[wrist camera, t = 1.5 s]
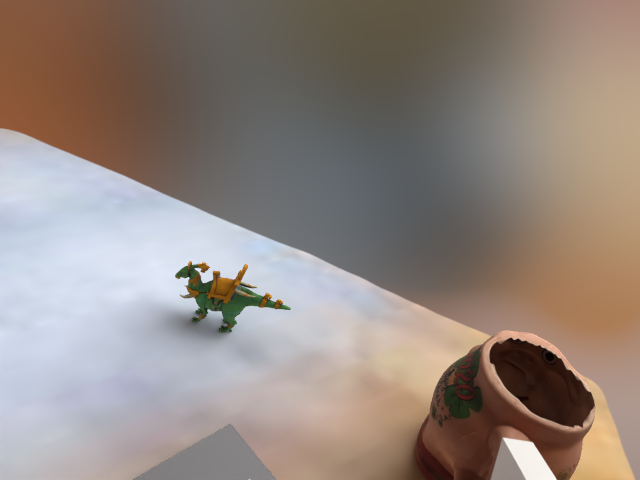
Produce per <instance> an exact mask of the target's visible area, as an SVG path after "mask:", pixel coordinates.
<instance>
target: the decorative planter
mask: <svg viewBox="0 0 640 480" xmlns="http://www.w3.org/2000/svg"><path fill="white" fill-rule="evenodd" d="M594 416H595V404H594V399H593V396H592V394H591V392H590V390H589V387H588V384H587V382H586V380H585V379H584V378H583V377H582V376H581V375H580V374H579V373H578V372H577V371H576V370H575V369H574V368H573V367H572V366H571V365H570V363H569V362H568V361H567V359H566V358H565V357H564V356H563V354H562V353H561V352H560V350H558V349H557V348H556V347H555V346H553V345H552V344H551V343H549V342H547V341H545V340H543V339H542V338H540V337H538V336H536V335H535V334H532V333H528V332H513V331H508V330H505V331H501V332H499V333H497V334H495V335H494V336H492V337H491V338H489V339H488V340H487V341H486V342H484V343H483V344H481V345H478V346H475V347H473V348H472V349H471V350H470V351H469V353H468V354H467V355H466V356H464V357H462V358H461V359H459V360H457V361H456V362H454V363H453V364H452V365H451V366H450V367H449V368H448V369H447V370H446V371H445V372H444V373H443V375H442V376H441V378H440V380H439V382H438V383H437V386H436V388H435V391H434V394H433V398H432V402H431V406H430V413H429V415H428V416H427V418H426V419H425V421H424V423H423V424H422V427H421V429H420V431H419V434H418V437H417V441H416V450H415V452H416V460H417V463H418V465H419V467H420V469H421V471H422V472H423V474H424V475H425V476H426V478H427V479H428V480H491V477H492V473H493V470H494V466H495V463H496V459H497V455H498V452H499V448H500V445H501V441H502V438H509V439H516V440H522V441H528V442H533V444H534V445H535V447H536V448H537V450H538V451H539V453H540V454H541V456H542V458H543V459H544V461H545V462H546V464H547V465H548V467H549V468H550V470H551V471H552V473H553V475H554V476H555V478H556V479H557V480H569V479H570V478H571V476H572V474H573V473H574V471H575V469H576V467H577V465H578V462H579V459H580V455H581V450H582V441H583V438H584V436H585V435H586V434H587V432H588V431H589V430H590V428H591V426H592V424H593V421H594Z"/></svg>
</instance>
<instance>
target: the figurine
mask: <svg viewBox="0 0 640 480" xmlns="http://www.w3.org/2000/svg"><path fill="white" fill-rule="evenodd" d="M194 268H201V272H203V273H205V271H207V270H208V268H210V267H209V266H207V265H206V263H203V262H202V264H197V265H192V262H191V261H190V262H189V263H188V266H185V267H184V268H182V269H181V270H180V271H179V272H178V273H177V274H176V275H175V277H176V278H178V279H180V277H183V278H187V277H189V278H190V279H189V281H188V282H189V283H188V286H186V287H187V290H188V292H189V293H190V294H188V295H185V296H182V295H180V296H181V297H183V298H192V297H194V298H195V299H196V302H197V304H198V306H199V307H200V308H199V309H198V310H196V311H195V312H196V313H201V315H200V316H199V318H194V317H193V318H192V319H193V320H194V321H192V322H198V321H200V320H201V319H204V317H206V314H208V312H207V309H210V310H211V311H222V314H223V317H224V320H223V321H224V322H227V321H228V322H229V323H228V326H226V327H224V326H223V325H222V326H221V328H219V329H220V330H219V332H226V331H228V330H229V331H230V332H232V330H231V328H232V327H234V325H235V324H237V322H236V321H235V319H234V318H235V317H236V316H237V315H239V314H240V312H241V311H242V310H243V309H244V308H245V306H259V307H262V308H263V307H270V308H275V309H285V310H290V309H291V308H289V307H288V306H286V305H282V304H283V301H281V300H279V299H278V300H277V301H276V302H273V301H271V300H269V299H271V298H272V296H271V295H269V293H266V295H265V296H264V297H263V296H260V295H257V294H256V293H254V292H252V291H250V290H248V289H247V288H244V287H248V288H257V287H258V286H251V285H249V284H247V283H244V282H241V280H242V278H243V275H244V274H245V272H246V270H247V268H248V265H247V264H245V265H244V267H243V270H242V271H241V270H240V271H239V273H238V276H237V277H236V279H234V280H232V279H228V278H220V271H213V280H212V281H209V282H207V283H202V281H201V276H200V273H199V272H198V271H196V270H195V269H194ZM240 285H241V286H240ZM242 286H244V287H242ZM268 297H269V299H268ZM280 303H281V304H280ZM199 310H200V311H199Z"/></svg>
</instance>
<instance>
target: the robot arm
mask: <svg viewBox="0 0 640 480" xmlns="http://www.w3.org/2000/svg"><path fill="white" fill-rule="evenodd" d="M491 480H557V479H556V478H555V476H554V475H553V473H552V471H551V470H550V468H549V467H548V465H547V464H546V462H545V461H544V459H543V458H542V456H541V454H540V453H539V451H538V450H537V448H536V447H535V445H534V444H533V442H528V441H522V440H516V439H509V438H502V441H501V445H500V448H499V452H498V455H497V459H496V463H495V466H494V470H493V473H492V477H491Z"/></svg>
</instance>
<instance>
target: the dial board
mask: <svg viewBox="0 0 640 480" xmlns="http://www.w3.org/2000/svg"><path fill="white" fill-rule="evenodd" d="M133 480H276V479H275V477H274V476H273V475H272V474H271V473H270V471H269V470H268V469H267V468H266V466H265V465H264V464H263V463H262V462H261V460H260V459H259V458H258V457H257V455H256V454H255V453H254V452H253V450H252V449H251V448H250V447H249V446H248V444H247V443H246V442H245V441H244V439H243V438H242V437H241V436H240V435H239V433H238V432H237V431H236V430H235V428H234V427H233V426H232V425H231V424H229V425H227V426H226V427H224V428H222V429H220V430H219V431H217V432H215V433H213V434H212V435H210V436H208V437H206V438H205V439H203V440H201V441H199V442H198V443H196V444H194V445H192V446H191V447H189V448H187V449H185V450H184V451H182V452H180V453H178V454H176V455H175V456H173V457H171V458H169V459H168V460H166V461H164V462H162V463H161V464H159V465H157V466H155V467H154V468H152V469H150V470H148V471H147V472H145V473H143V474H141V475H140V476H138V477H136V478H134V479H133Z"/></svg>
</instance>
